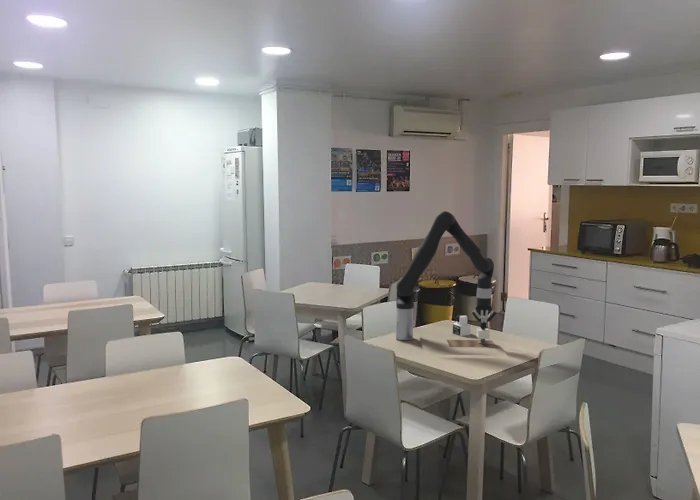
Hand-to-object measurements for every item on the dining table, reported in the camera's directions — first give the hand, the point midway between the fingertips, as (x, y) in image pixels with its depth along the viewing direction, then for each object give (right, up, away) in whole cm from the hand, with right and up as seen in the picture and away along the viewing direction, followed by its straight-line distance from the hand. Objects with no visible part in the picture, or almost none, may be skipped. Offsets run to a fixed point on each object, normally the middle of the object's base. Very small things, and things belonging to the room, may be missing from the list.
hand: (483, 329), depth 290 cm
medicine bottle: (-7, -7, +21) cm, 23 cm away
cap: (0, -4, 0) cm, 4 cm away
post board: (-6, -9, +1) cm, 11 cm away
